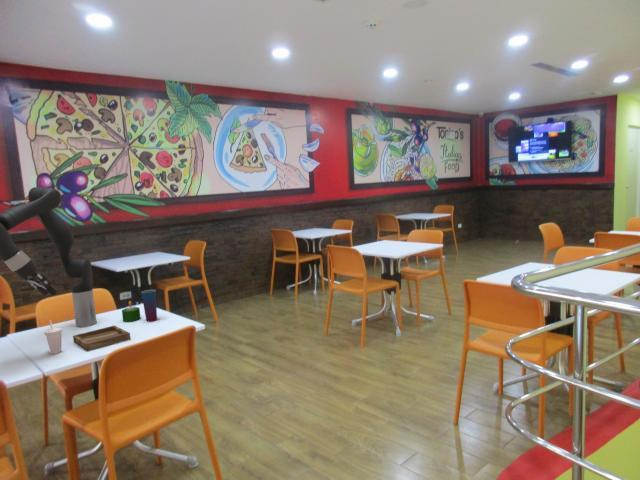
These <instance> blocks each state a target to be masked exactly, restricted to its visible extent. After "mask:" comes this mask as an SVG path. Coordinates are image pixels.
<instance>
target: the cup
mask: <svg viewBox="0 0 640 480" xmlns="http://www.w3.org/2000/svg"><path fill="white" fill-rule="evenodd" d="M141 298H142V303H143V310H144V315H145V321H146V322H147V323H151V322H156V321H157V320H158V312H157V311H158V310H157V309H158V308H157V290H156V289H145V290H143V291H141Z"/></svg>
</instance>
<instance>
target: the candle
mask: <svg viewBox="0 0 640 480" xmlns="http://www.w3.org/2000/svg"><path fill="white" fill-rule="evenodd" d="M121 315H122V321H123V323H133V322H138V321H140V320H141V318H142V317H141V310H140V307H136V306H135V305H132V301H131V300H129V301H128V306H126V307H125V308H123V309H122V310H121Z"/></svg>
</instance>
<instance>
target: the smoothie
mask: <svg viewBox="0 0 640 480" xmlns="http://www.w3.org/2000/svg"><path fill="white" fill-rule="evenodd" d="M49 324H50V328H49V329H46V330H45V331H44V335H45V337H46V340H47V344H48V348H49V350H50V351H49V352H50V354H51V355H56V354H60V353H62V332H63V328H62V327H53V323H52V319H49Z"/></svg>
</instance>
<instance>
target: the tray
mask: <svg viewBox="0 0 640 480" xmlns="http://www.w3.org/2000/svg"><path fill="white" fill-rule="evenodd" d="M72 338H73V339H72V340H73V343H74V344H76V345H77V346H78V347H80V348H81V349H83V350H84V351H86V352H91V351H94V350H98V349H102V348H104V347H108V346H112V345H115V344H119V343H123V342H126V341H129V340H132V339H131V332H129V331H127V330H125V329H122V328H121V327H120V326H117V325H112V326H111V325H110V326H106V327H103V328H98V329H95V330H90V331H87V332H83V333H79V334H74V335H72Z"/></svg>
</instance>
